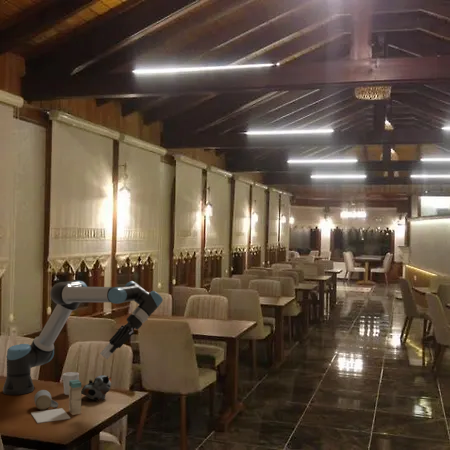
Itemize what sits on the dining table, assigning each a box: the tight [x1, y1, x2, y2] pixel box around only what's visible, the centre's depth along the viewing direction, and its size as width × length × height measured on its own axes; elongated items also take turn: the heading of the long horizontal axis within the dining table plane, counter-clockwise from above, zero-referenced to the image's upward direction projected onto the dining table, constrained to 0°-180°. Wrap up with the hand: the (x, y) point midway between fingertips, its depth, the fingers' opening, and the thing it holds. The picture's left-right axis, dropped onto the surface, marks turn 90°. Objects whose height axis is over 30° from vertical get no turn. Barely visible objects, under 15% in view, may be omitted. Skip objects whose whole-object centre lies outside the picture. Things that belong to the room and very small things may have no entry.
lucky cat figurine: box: [81, 374, 112, 402], centre depth 284 cm, size 15×12×14 cm
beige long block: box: [68, 379, 82, 416], centre depth 261 cm, size 6×4×14 cm, turn 28°
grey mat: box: [30, 407, 71, 424], centre depth 256 cm, size 16×14×1 cm
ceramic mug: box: [34, 389, 59, 411], centre depth 268 cm, size 11×8×8 cm
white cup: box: [62, 371, 80, 396], centre depth 293 cm, size 8×8×10 cm
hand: (103, 356), depth 268 cm, fingers open, 4 cm apart
